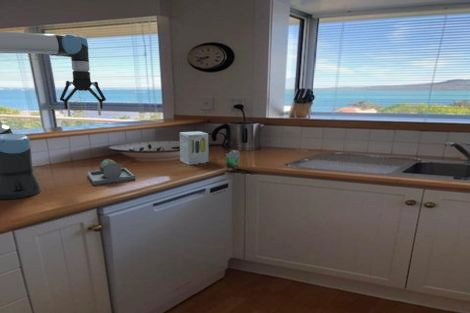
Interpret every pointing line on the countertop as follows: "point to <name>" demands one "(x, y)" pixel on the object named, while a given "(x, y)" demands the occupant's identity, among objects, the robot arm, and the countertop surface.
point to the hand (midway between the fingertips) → (84, 115)
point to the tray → (99, 178)
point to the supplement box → (193, 147)
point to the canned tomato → (110, 168)
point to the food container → (232, 160)
